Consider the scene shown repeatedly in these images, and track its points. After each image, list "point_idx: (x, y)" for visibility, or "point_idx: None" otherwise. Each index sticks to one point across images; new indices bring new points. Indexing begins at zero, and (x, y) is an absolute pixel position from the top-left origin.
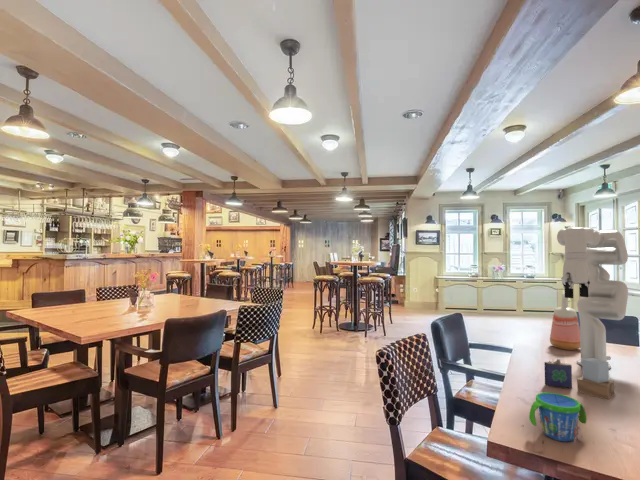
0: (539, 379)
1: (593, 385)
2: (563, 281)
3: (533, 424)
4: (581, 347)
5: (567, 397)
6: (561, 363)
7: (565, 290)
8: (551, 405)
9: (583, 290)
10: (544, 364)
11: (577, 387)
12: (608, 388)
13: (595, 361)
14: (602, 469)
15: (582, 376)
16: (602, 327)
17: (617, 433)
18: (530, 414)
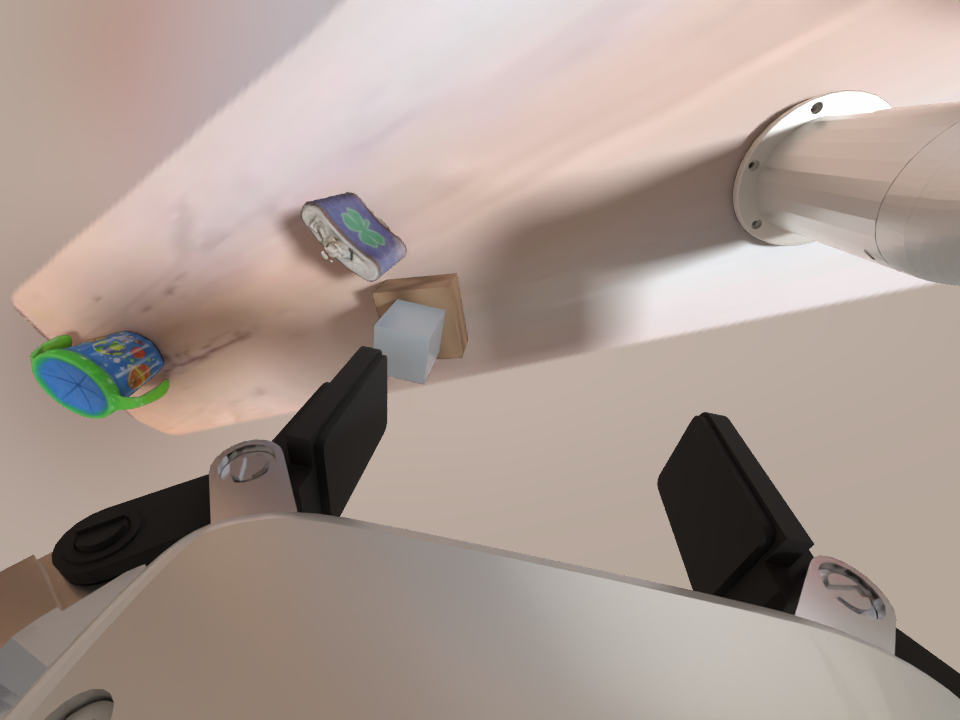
0: (379, 146)
1: None
2: (10, 595)
3: (69, 341)
4: (844, 131)
5: (103, 394)
6: (355, 251)
7: (285, 427)
8: (44, 390)
9: (706, 531)
10: (309, 201)
11: (382, 284)
12: None
13: (390, 359)
14: (139, 414)
15: (414, 291)
16: (948, 283)
17: (254, 399)
18: (46, 344)
